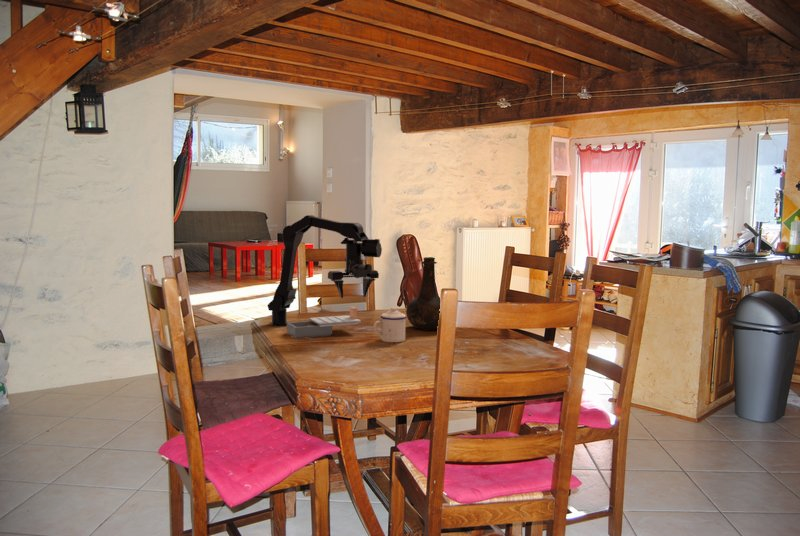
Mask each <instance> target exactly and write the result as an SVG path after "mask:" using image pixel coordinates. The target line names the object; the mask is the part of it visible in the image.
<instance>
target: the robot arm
mask: <svg viewBox="0 0 800 536" xmlns="http://www.w3.org/2000/svg"><path fill="white" fill-rule="evenodd" d="M312 227H313V228H318V229H322V230H325V231H326V230H327V231H331V232H335V233H338V234H339V235H341V236H343V237H344V239H343V240H342V241H340V244H341V245H345V258H344V262H345V269H344V272H343V271H339V270H328V273H327V279H329V280H331V282H333V283H334V285H335V287H336V289H337V290H338V293H339V296H340V299H343V298H344V287H343V285H344V280H343V278H355V279H359V278H362V296H363V298H366V296H367V295H368V294H367V293H368V290H369V287H370V286H371V284H372V283H373V282H374V281H376V279H379V278H380V277H379V276H380V273H379V272H378V270H375V269H372V268H373V265H372V264H371V263H365V264H364V263H363V262H364V260H363V259H362V255H363V257H364V258H380V257H381V255H382V252H383V251H382V249H383V248H382V245H381V242H380V241H381V240H380V238H375V239H372V238H371V239H369V237H368V236H367V234H366V233H365V231H364V227H363V226H362V224H361V223H358V222H344V221H343V222H340V221H335V220H331V219H328V218H324V217H318V216H315V215H312V214H311V215H305V216H303V217H302V218H301V219H299V220H297V221H295V222H294V223H292V224H290V225H286V226H285V227H284V228H283V229H282V242H283V246H284V251H283V259H282V266H281V271H280V281H279V284H278V285H277V287H276V289H275V292H274V295H273V298H272V300H271V301H270V302H269V303H268V304H267V309H268V311H270V312H271V321H270V322H268V323H269V325H270V326H272V327H281V326H283V327H284V326H287V323H288V322H287V320H288V319H287V312H288V311H287V310H288V309H289V308H290V306H291V304H293V302H294V301H295V300H296V295H297V294H296V293H297V288H294V287H293V279H294V272H295V266H296V260H297V259H296V258H297V253H298V252H297V251H298V248H299V246H300V245H301V243H302V240H303V237H304V234H306V232H307V231H309V230H310V229H311V228H312Z"/></svg>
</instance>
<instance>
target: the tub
mask: <svg viewBox="0 0 800 536" xmlns="http://www.w3.org/2000/svg"><path fill="white" fill-rule="evenodd" d="M287 333H288V334H287ZM286 334H287V335H289V336H290V335H291V337H292V336H293V337H294V339H295V338H297V339H306V338H305V337H309V338H320V337H319V336H321V337H332V336H333V326H324V327H320V325H318V324H316V323H315V322H313V321H310V320H307V321H305V320H304V321H292V322H291V321H290V322H287V325H286ZM331 335H332V336H331ZM293 337H292V338H293Z"/></svg>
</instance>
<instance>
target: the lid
mask: <svg viewBox="0 0 800 536" xmlns="http://www.w3.org/2000/svg"><path fill="white" fill-rule="evenodd" d="M309 321H313V322H315V323H316V324H318V325H320V327H324V326H332V327H335V326H348V325H349V326H350V325H358V324H359V323H362V321H361V319H358V308H357V307H355V306H350V307H349V314H348V315H337V316H336V315H332V316H326V315H325V316H320V317H319V316H316V317H309Z"/></svg>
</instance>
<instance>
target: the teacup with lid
mask: <svg viewBox="0 0 800 536" xmlns="http://www.w3.org/2000/svg"><path fill="white" fill-rule="evenodd" d="M380 318H381V320H377V321H375V322H374V323H373V331H374V333H375V334H377V335H380V340H381V341H382V342H385V343H393V342H395V343H402V342H404V341H406V318H407V315H406V313H402V312H400V311H399V310H397V308H396V307H391V308H390V310H388V311H386V312H383V313H381V315H380ZM378 324H380V327H381V328H380V332H379V331H378V330H377V325H378Z"/></svg>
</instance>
